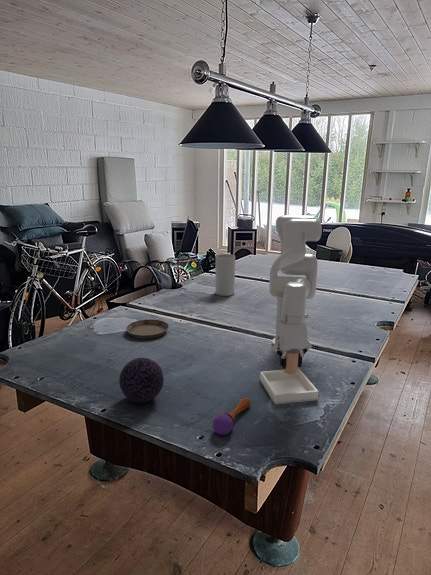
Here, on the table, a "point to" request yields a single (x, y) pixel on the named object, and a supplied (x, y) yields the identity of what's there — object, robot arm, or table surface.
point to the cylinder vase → (225, 274)
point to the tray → (288, 387)
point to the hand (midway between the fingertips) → (290, 366)
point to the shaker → (291, 361)
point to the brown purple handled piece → (229, 418)
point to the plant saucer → (147, 328)
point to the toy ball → (141, 380)
